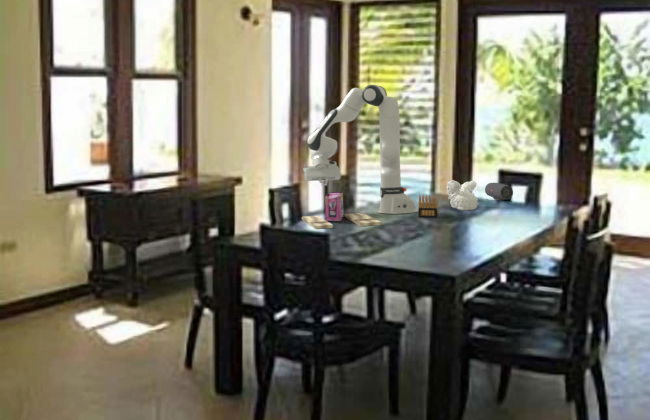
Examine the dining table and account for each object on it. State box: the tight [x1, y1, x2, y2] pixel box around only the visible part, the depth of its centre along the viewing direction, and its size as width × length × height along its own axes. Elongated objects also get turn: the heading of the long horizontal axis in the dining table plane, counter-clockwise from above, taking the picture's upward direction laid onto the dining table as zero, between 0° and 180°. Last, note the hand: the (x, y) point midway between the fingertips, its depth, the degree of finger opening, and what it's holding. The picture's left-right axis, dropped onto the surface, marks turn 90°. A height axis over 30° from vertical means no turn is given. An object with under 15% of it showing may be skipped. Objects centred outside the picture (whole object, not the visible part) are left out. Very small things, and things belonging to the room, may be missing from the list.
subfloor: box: [301, 212, 383, 230], centre depth 468 cm, size 34×40×2 cm
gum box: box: [324, 191, 344, 222], centre depth 481 cm, size 24×8×14 cm, turn 174°
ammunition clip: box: [417, 194, 439, 219], centre depth 475 cm, size 11×2×12 cm, turn 67°
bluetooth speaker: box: [484, 182, 514, 201], centre depth 547 cm, size 23×9×10 cm, turn 14°
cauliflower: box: [446, 179, 479, 211], centre depth 508 cm, size 19×20×20 cm
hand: (324, 184), depth 501 cm, fingers closed
